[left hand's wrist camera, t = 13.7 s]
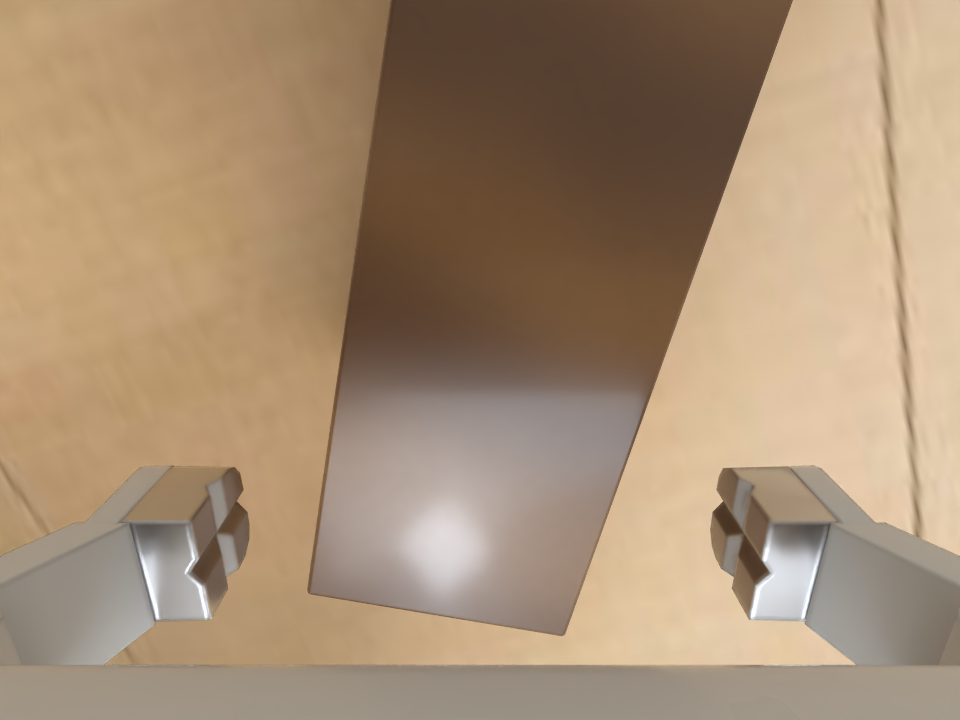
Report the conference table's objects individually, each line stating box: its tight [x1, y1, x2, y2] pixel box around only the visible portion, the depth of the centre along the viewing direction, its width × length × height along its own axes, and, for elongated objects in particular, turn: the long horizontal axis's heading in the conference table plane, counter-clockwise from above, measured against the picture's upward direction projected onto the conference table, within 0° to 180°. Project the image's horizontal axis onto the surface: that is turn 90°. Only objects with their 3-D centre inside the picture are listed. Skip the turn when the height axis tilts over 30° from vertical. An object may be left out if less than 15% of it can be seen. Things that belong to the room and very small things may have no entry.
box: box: [307, 0, 793, 636], centre depth 14 cm, size 22×6×11 cm, turn 168°
